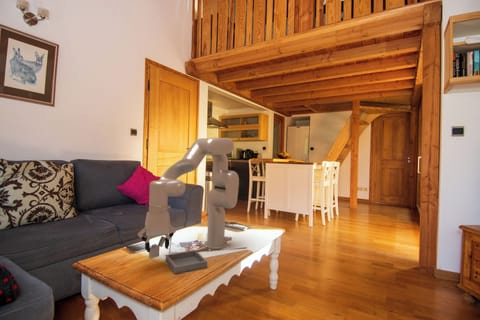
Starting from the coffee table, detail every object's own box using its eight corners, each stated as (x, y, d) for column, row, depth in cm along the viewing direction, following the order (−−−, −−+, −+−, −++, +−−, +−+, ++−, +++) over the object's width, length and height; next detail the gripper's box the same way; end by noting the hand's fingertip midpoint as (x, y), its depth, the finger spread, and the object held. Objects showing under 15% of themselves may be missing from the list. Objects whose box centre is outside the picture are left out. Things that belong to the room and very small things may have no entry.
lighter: (150, 258, 106) (150, 240, 106) (148, 257, 107) (148, 239, 107) (165, 254, 111) (166, 236, 111) (163, 253, 112) (164, 235, 112)
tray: (195, 256, 124) (195, 250, 124) (207, 267, 111) (207, 261, 111) (165, 261, 116) (165, 254, 116) (174, 274, 104) (174, 267, 104)
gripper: (175, 205, 116) (174, 243, 117) (135, 209, 107) (134, 250, 108) (180, 209, 110) (179, 249, 110) (138, 212, 101) (137, 256, 101)
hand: (157, 249), depth 109 cm, fingers closed on lighter, 7 cm apart
